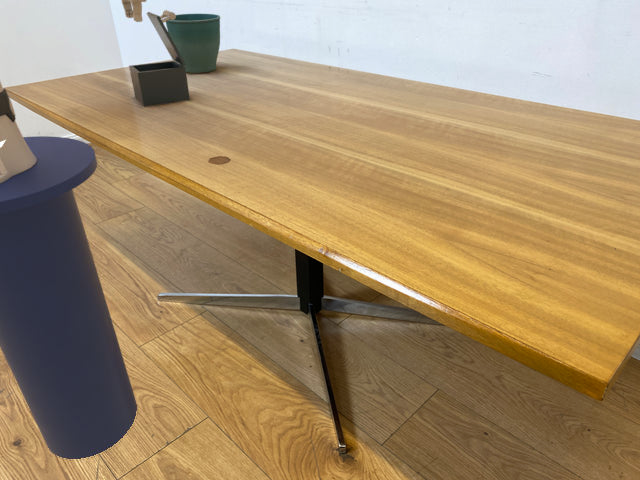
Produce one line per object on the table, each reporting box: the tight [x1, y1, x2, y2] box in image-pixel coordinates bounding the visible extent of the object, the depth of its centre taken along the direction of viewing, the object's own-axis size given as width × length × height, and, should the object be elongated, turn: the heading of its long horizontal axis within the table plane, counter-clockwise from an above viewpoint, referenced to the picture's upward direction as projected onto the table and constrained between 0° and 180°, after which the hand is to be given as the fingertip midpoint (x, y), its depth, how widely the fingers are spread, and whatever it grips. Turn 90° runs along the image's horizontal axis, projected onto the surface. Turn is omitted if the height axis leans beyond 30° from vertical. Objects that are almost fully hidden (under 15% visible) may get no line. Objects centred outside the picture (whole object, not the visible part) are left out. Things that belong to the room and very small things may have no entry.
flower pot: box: [164, 13, 221, 74], centre depth 164 cm, size 18×18×17 cm
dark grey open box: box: [128, 60, 191, 108], centre depth 134 cm, size 13×11×9 cm
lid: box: [146, 9, 186, 66], centre depth 130 cm, size 13×11×5 cm
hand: (134, 19), depth 123 cm, fingers open, 8 cm apart
